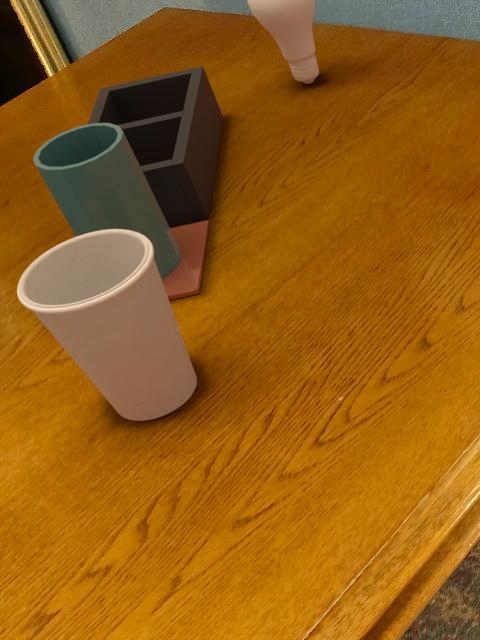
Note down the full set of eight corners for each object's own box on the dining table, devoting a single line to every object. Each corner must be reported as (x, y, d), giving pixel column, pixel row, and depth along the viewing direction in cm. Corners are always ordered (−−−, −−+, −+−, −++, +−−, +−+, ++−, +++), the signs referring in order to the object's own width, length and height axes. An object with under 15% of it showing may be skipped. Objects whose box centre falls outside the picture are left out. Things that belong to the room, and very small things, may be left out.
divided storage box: (95, 243, 82) (64, 188, 79) (125, 140, 95) (100, 88, 91) (208, 218, 82) (183, 162, 79) (224, 118, 94) (202, 65, 91)
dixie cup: (109, 363, 71) (35, 240, 63) (224, 344, 70) (162, 217, 63) (83, 444, 65) (-2, 319, 58) (206, 423, 65) (137, 294, 57)
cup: (95, 298, 76) (25, 177, 69) (107, 252, 80) (42, 134, 73) (177, 280, 76) (115, 157, 68) (185, 235, 80) (128, 115, 73)
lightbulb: (285, 72, 99) (244, -48, 91) (344, 64, 98) (308, -59, 90) (273, 101, 95) (228, -22, 87) (334, 92, 94) (295, -33, 86)
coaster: (69, 321, 75) (67, 317, 75) (91, 249, 82) (88, 245, 82) (199, 293, 75) (197, 289, 75) (209, 224, 82) (208, 219, 81)
